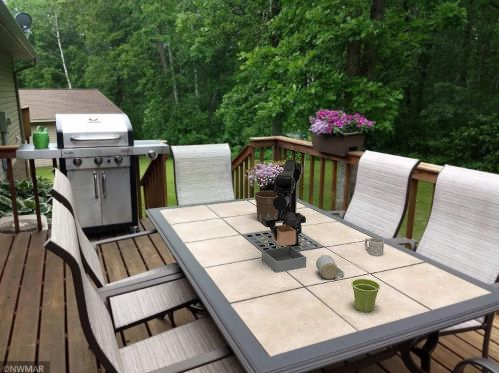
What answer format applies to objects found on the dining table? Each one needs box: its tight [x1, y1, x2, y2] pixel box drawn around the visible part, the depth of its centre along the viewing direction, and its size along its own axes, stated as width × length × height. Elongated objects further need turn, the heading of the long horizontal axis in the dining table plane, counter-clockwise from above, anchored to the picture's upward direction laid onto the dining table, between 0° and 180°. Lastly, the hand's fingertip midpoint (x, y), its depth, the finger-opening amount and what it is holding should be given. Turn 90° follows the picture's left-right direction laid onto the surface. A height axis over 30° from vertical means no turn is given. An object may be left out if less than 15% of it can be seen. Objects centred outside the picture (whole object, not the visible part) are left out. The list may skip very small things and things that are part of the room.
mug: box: [364, 237, 385, 257], centre depth 184 cm, size 10×7×7 cm, turn 31°
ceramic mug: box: [315, 254, 345, 280], centre depth 160 cm, size 11×8×8 cm
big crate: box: [261, 245, 307, 274], centre depth 172 cm, size 14×14×5 cm
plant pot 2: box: [351, 278, 381, 313], centre depth 134 cm, size 9×9×9 cm
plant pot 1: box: [254, 190, 277, 223], centre depth 233 cm, size 16×16×16 cm
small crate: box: [271, 224, 296, 247], centre depth 170 cm, size 7×9×6 cm
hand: (283, 239), depth 170 cm, fingers closed on small crate, 7 cm apart
